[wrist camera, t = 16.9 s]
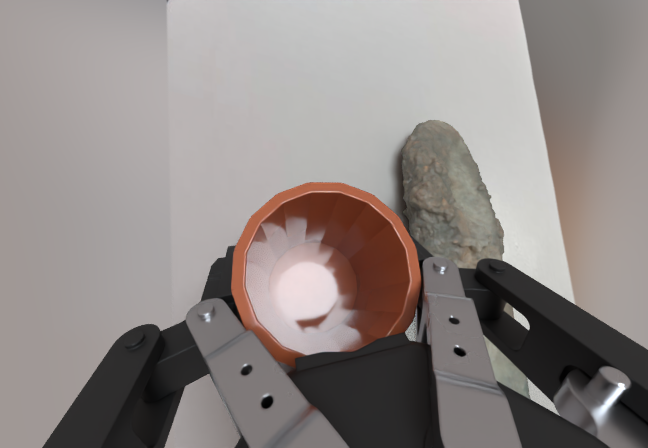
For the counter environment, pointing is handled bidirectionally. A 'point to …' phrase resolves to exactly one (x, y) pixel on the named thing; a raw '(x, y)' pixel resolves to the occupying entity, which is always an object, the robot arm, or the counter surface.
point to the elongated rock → (454, 214)
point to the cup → (324, 272)
